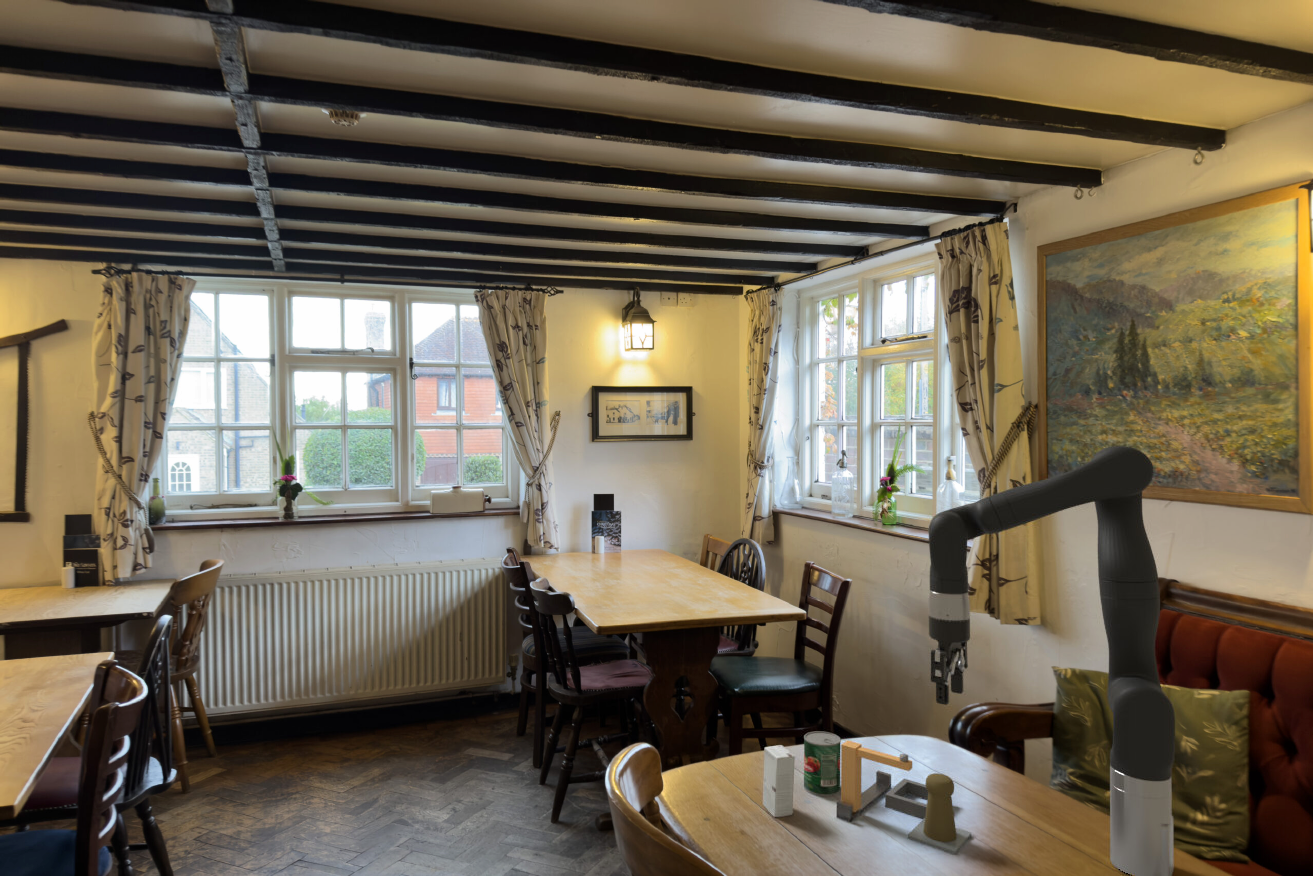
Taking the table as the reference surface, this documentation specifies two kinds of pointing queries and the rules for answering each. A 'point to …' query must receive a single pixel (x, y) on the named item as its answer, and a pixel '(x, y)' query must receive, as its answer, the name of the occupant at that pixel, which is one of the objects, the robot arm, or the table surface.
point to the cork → (940, 809)
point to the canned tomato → (822, 763)
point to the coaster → (949, 847)
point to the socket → (906, 805)
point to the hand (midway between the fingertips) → (950, 698)
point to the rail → (865, 797)
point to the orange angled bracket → (852, 769)
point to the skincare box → (778, 781)
